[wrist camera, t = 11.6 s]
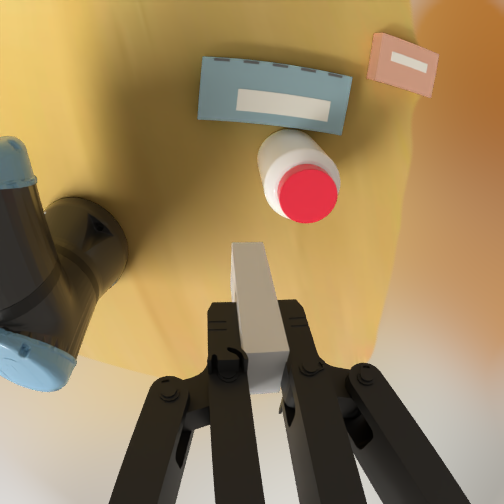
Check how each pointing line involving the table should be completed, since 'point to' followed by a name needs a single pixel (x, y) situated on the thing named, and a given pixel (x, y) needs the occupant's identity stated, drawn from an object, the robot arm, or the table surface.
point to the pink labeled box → (402, 64)
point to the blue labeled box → (273, 94)
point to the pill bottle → (297, 176)
